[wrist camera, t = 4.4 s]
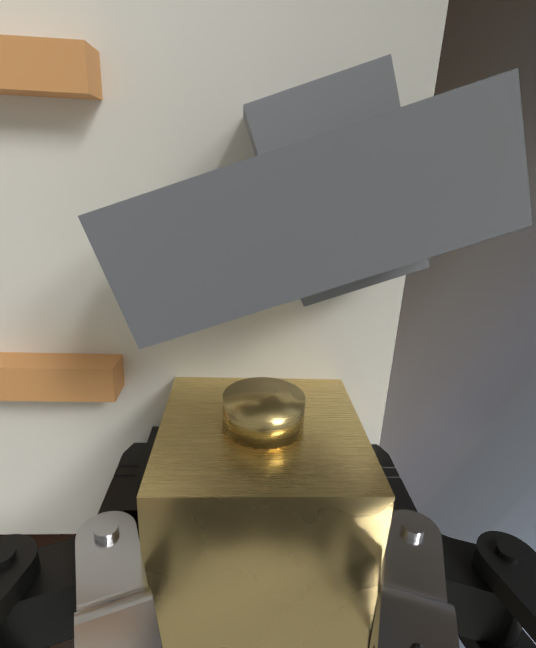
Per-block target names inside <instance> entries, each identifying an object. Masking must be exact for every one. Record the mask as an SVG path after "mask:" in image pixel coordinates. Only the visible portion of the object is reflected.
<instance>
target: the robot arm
mask: <svg viewBox="0 0 536 648" xmlns="http://www.w3.org/2000/svg"><path fill="white" fill-rule="evenodd" d="M158 429H159V426H153V427H152V429H151V432H150V435H149V438H148V441H147V443H133V444H132V445H131V446H130V447H129V448H128V449H127V450H126V451H125V452H124V453H123V454H122V457H121V459H120V461H119V464H118V468H117V469H116V471H115V473H114V478H112V481H111V483H110V485H109V488H108V490H107V493H106V495H105V497H104V500H103V502H102V505H101V507H100V509H99V512H98V514H97V515H95V516H93V517H92V518H90V519H88V520H87V521H86V522H85V523H84V524H83V525H82V526H81V527H80V528H79V530H78V532H77V534H76V536H75V537H73V538H70V539H68V540H65V541H62V542H58V543H54V544H50V545H46V546H43V547H39V548H37V544H36V542H35V540H34V539H33V538H32V537H30V536H28V535H24V534H11V535H6V536H2V537H0V648H49V646H51V645H54V644H57V643H60V642H63V641H66V640H69V639H72V638H74V648H163V646H162V641H161V636H160V631H159V626H158V620H157V615H156V610H155V605H154V600H153V595H152V591H151V588H150V587H149V588H148V583H147V578H146V572H145V567H144V562H143V557H142V551H141V550H140V538H139V525H138V511H137V495H138V491H139V488H140V485H141V482H142V479H143V476H144V473H145V470H146V467H147V463H148V460H149V457H150V454H151V451H152V448H153V445H154V442H155V439H156V435H157V432H158ZM371 445H372V448H373V450H374V452H375V454H376V456H377V458H378V461H379V463H380V465H381V467H382V469H383V472H384V474H385V476H386V478H387V480H388V482H389V485H390V487H391V489H392V491H393V493H394V496H395V500H394V506H393V511H392V517H391V523H390V528H389V534H388V539H387V545H386V547H383V548H382V553H381V559H380V566H379V578H378V591H377V600H376V606H375V611H374V614H371V616H370V621H369V627H368V636H367V647H366V648H459V638H460V640H461V642H462V643H463V645H464V646H465V647H466V648H536V645H535V644H534V643H533V641H532V640H531V639H530V638H529V637H528V635H527V634H526V633H525V632H524V631H523V629H522V627H523V628H524V629H525V631H526V632H527V633H528V634H529V635H530V637H531V638H532V639H533V640H534V641H535V642H536V552H535V551H534V550H533V549H532V548H531V547H530V546H528V545H527V544H526V543H525V542H523V541H522V540H520V539H518V538H517V537H514V536H512V535H510V534H507V533H503V532H498V531H488V532H485V533H483V534H481V535H480V536H479V537H478V540H477V543H476V544H473V543H469V542H465V541H461V540H457V539H453V538H450V537H447V536H444V535H442V534H441V532H440V530H439V528H438V527H437V525H436V524H435V523H434V522H433V521H432V520H431V519H429V518H428V517H426V516H425V515H423V514H421V513H418V512H417V510H416V508H415V506H414V504H413V502H412V500H411V498H410V496H409V494H408V492H407V490H406V488H405V486H404V484H403V482H402V480H401V478H399V474H398V472H397V470H396V469H395V466H394V464H393V462H392V460H391V458H390V456H389V454H388V453H386V452H385V451H384V450H383V449H382V448H381V447H380V446H378V445H377V444H371ZM458 636H459V638H458Z"/></svg>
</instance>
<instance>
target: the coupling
mask: <svg viewBox="0 0 536 648" xmlns="http://www.w3.org/2000/svg"><path fill="white" fill-rule="evenodd" d="M394 500H395V496H394V493H393V491H392V489H391V487H390V485H389V482H388V480H387V478H386V476H385V474H384V472H383V469H382V467H381V465H380V463H379V461H378V458H377V456H376V454H375V452H374V450H373V448H372V445H371V443H370V441H369V439H368V437H367V435H366V432H365V430H364V428H363V426H362V424H361V421H360V419H359V417H358V415H357V413H356V411H355V408H354V406H353V404H352V402H351V400H350V398H349V395H348V393H347V391H346V389H345V387H344V384H343V382H342V380H341V379H286V378H270V377H252V378H221V377H175V380H174V383H173V386H172V389H171V392H170V395H169V398H168V401H167V404H166V407H165V411H164V414H163V417H162V420H161V423H160V426H159V429H158V432H157V435H156V439H155V442H154V445H153V448H152V451H151V454H150V457H149V460H148V463H147V467H146V470H145V473H144V476H143V479H142V482H141V485H140V488H139V491H138V495H137V511H138V525H139V538H140V550H141V551H142V557H143V562H144V567H145V572H146V578H147V583H148V588H149V587H150V588H151V591H152V595H153V600H154V605H155V610H156V615H157V620H158V626H159V631H160V636H161V641H162V646H163V648H366V647H367V636H368V627H369V621H370V616H371V614H374V611H375V606H376V600H377V591H378V578H379V566H380V559H381V553H382V548H383V547H386V545H387V539H388V534H389V528H390V523H391V517H392V511H393V506H394Z"/></svg>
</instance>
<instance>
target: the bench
mask: <svg viewBox="0 0 536 648" xmlns="http://www.w3.org/2000/svg"><path fill="white" fill-rule="evenodd" d="M448 2H449V0H0V534H77V532H78V530H79V528H80V527H81V526H82V525H83V524H84V523H85V522H86V521H87V520H88V519H90V518H92V517H93V516H95V515H97V514H98V512H99V509H100V507H101V505H102V502H103V500H104V497H105V495H106V493H107V490H108V488H109V485H110V483H111V481H112V478H114V473H115V471H116V469H117V468H118V464H119V461H120V459H121V457H122V454H123V453H124V452H125V451H126V450H127V449H128V448H129V447H130V446H131V445H132V444H133V443H147V441H148V438H149V435H150V432H151V429H152V427H153V426H160V423H161V420H162V417H163V414H164V411H165V407H166V404H167V401H168V398H169V395H170V392H171V389H172V386H173V383H174V380H175V377H221V378H252V377H270V378H286V379H341V380H342V382H343V384H344V387H345V389H346V391H347V393H348V395H349V398H350V400H351V402H352V404H353V406H354V408H355V411H356V413H357V415H358V417H359V419H360V421H361V424H362V426H363V428H364V430H365V432H366V435H367V437H368V439H369V441H370V443H371V444H377V445H378V446H379V443H380V436H381V430H382V424H383V417H384V411H385V404H386V398H387V392H388V385H389V379H390V372H391V366H392V360H393V353H394V347H395V341H396V334H397V328H398V321H399V315H400V309H401V302H402V296H403V289H404V283H405V277H406V275H407V274H410V273H413V272H416V271H420V270H423V269H426V268H429V267H430V264H429V259H428V258H431V257H434V256H437V255H440V254H443V253H446V252H450V251H453V250H456V249H459V248H462V247H465V246H469V245H472V244H475V243H478V242H481V241H484V240H488V239H491V238H494V237H497V236H500V235H503V234H507V233H510V232H513V231H516V230H519V229H522V228H526V227H529V226H532V225H533V222H532V211H531V200H530V190H529V179H528V168H527V157H526V146H525V136H524V125H523V114H522V103H521V93H520V82H519V71H518V68H516V69H513V70H510V71H507V72H504V73H501V74H498V75H495V76H492V77H489V78H486V79H483V80H480V81H477V82H474V83H471V84H468V85H465V86H462V87H459V88H456V89H453V90H450V91H447V92H444V93H441V94H438V95H435V96H434V91H435V85H436V78H437V72H438V66H439V59H440V53H441V47H442V40H443V34H444V27H445V21H446V15H447V8H448Z"/></svg>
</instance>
